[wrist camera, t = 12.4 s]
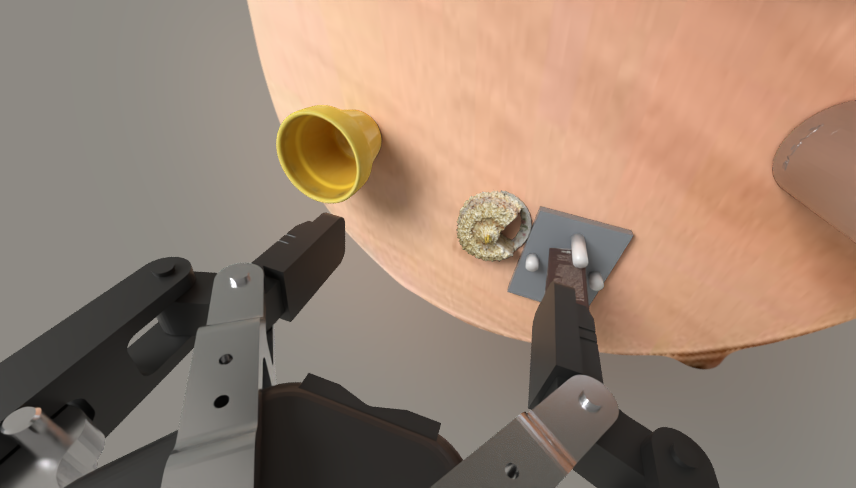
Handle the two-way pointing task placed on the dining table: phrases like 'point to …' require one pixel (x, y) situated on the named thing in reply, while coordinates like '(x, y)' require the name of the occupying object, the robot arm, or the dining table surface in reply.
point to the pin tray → (585, 237)
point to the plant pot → (328, 151)
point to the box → (567, 273)
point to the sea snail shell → (492, 225)
